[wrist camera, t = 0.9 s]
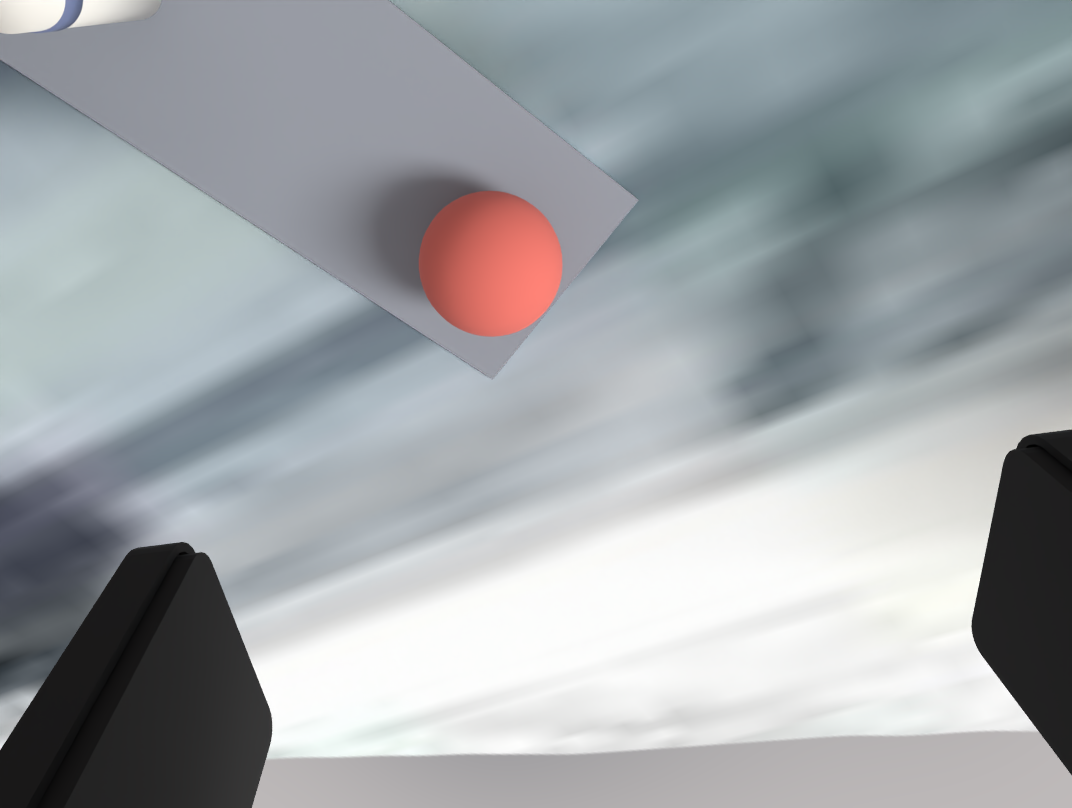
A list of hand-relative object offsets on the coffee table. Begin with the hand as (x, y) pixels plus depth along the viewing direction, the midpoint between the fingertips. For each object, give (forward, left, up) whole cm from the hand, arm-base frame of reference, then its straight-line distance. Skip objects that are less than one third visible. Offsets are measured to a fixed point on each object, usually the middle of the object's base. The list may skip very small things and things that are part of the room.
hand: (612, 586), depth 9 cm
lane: (+4, -10, -27) cm, 29 cm away
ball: (+4, +1, -24) cm, 25 cm away
